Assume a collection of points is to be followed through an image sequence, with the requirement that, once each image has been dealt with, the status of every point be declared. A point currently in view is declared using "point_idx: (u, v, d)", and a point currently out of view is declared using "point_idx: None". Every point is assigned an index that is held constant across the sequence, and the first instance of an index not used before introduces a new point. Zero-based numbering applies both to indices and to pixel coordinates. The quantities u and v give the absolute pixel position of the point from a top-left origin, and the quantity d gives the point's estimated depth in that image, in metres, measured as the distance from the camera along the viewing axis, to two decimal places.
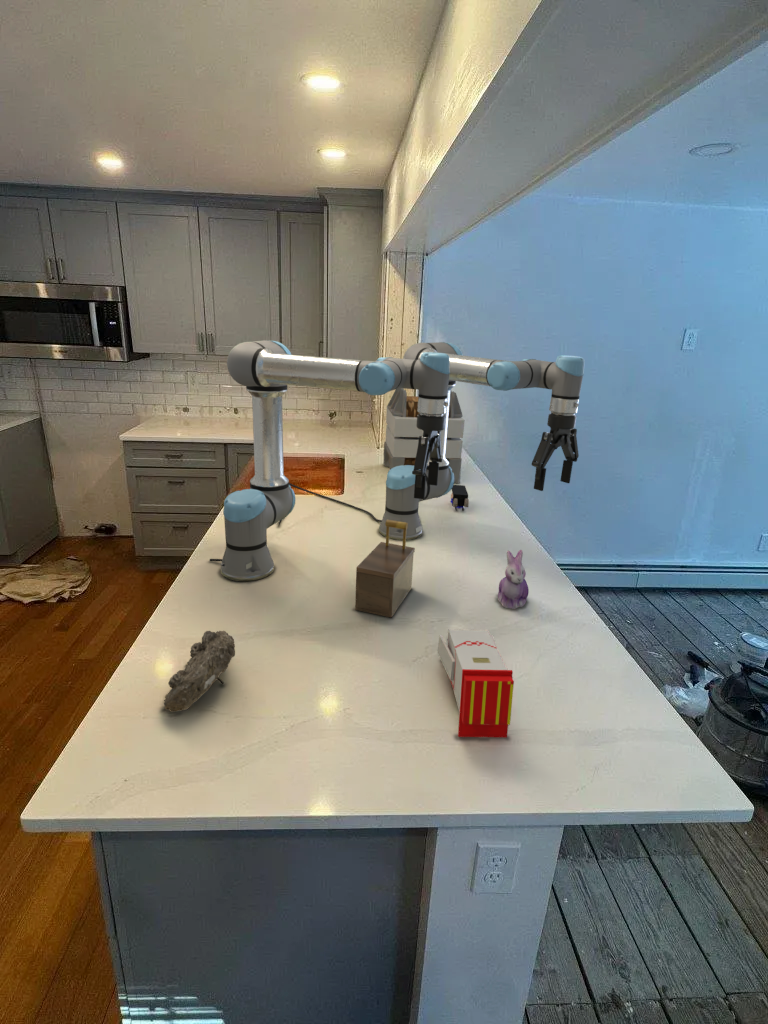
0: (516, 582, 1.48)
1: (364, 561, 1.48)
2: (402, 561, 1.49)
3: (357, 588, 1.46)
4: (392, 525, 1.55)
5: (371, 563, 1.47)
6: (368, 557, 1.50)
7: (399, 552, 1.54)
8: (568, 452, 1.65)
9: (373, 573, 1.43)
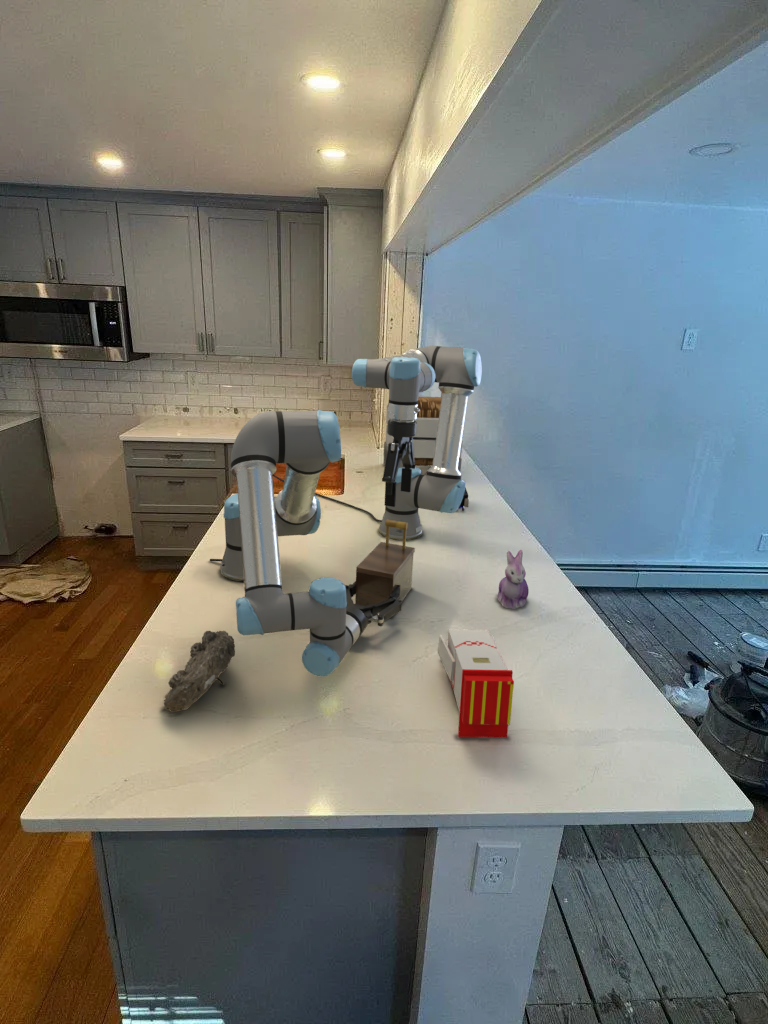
0: (516, 582, 1.48)
1: (364, 561, 1.48)
2: (402, 561, 1.49)
3: (357, 588, 1.46)
4: (392, 525, 1.55)
5: (371, 563, 1.47)
6: (368, 557, 1.50)
7: (398, 552, 1.55)
8: (408, 460, 1.54)
9: (373, 573, 1.43)
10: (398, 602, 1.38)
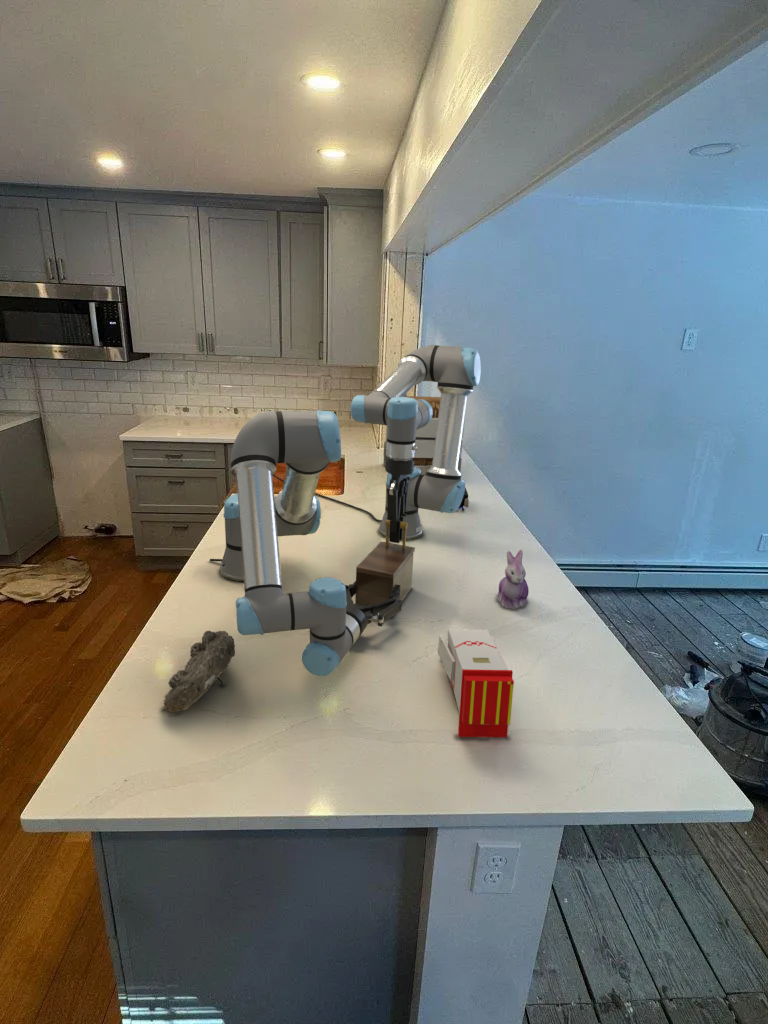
0: (516, 582, 1.48)
1: (364, 561, 1.48)
2: (402, 561, 1.49)
3: (357, 588, 1.46)
4: None
5: (371, 563, 1.47)
6: (368, 557, 1.50)
7: (398, 551, 1.54)
8: (401, 503, 1.54)
9: (373, 573, 1.43)
10: (398, 602, 1.38)
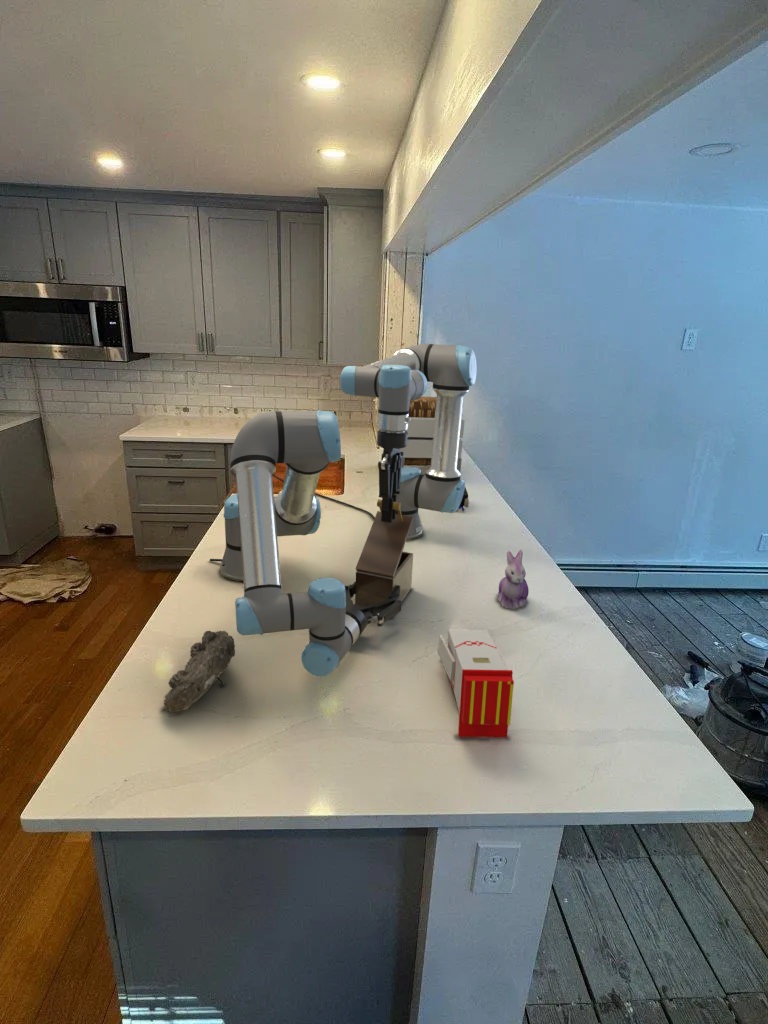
0: (516, 582, 1.48)
1: (362, 555, 1.46)
2: (400, 547, 1.45)
3: (357, 588, 1.46)
4: None
5: (369, 558, 1.45)
6: (366, 546, 1.47)
7: (396, 529, 1.49)
8: (394, 479, 1.44)
9: (373, 573, 1.43)
10: (398, 602, 1.38)
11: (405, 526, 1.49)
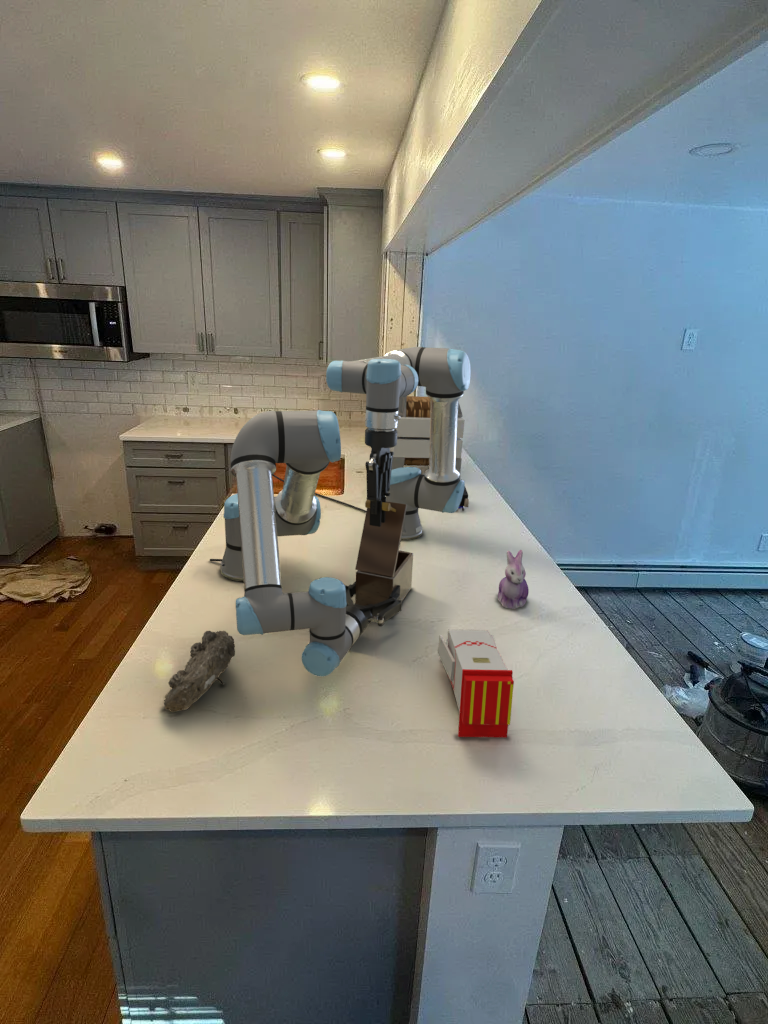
0: (516, 582, 1.48)
1: (360, 554, 1.44)
2: (397, 543, 1.42)
3: (357, 588, 1.46)
4: None
5: (367, 557, 1.43)
6: (362, 543, 1.44)
7: (391, 521, 1.43)
8: (383, 480, 1.36)
9: None
10: (398, 602, 1.38)
11: (399, 517, 1.42)
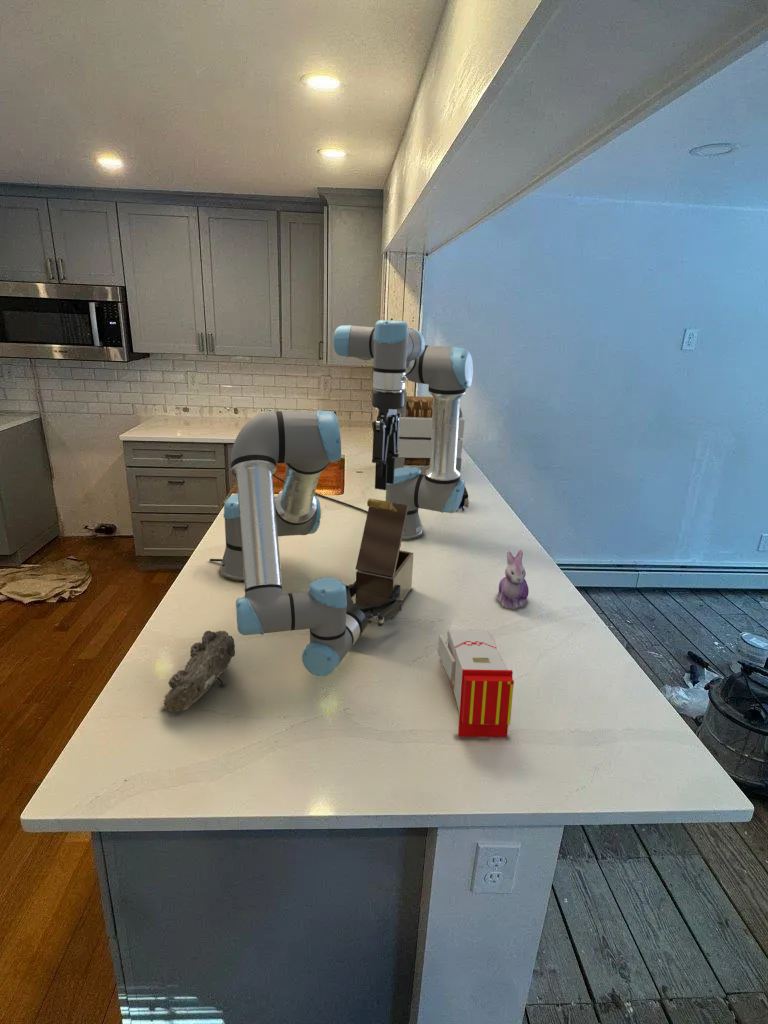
0: (516, 582, 1.48)
1: (361, 553, 1.44)
2: (398, 543, 1.42)
3: (357, 588, 1.46)
4: (375, 507, 1.39)
5: (368, 557, 1.44)
6: (363, 543, 1.45)
7: (392, 521, 1.44)
8: (392, 442, 1.38)
9: None
10: (398, 602, 1.38)
11: (400, 517, 1.43)
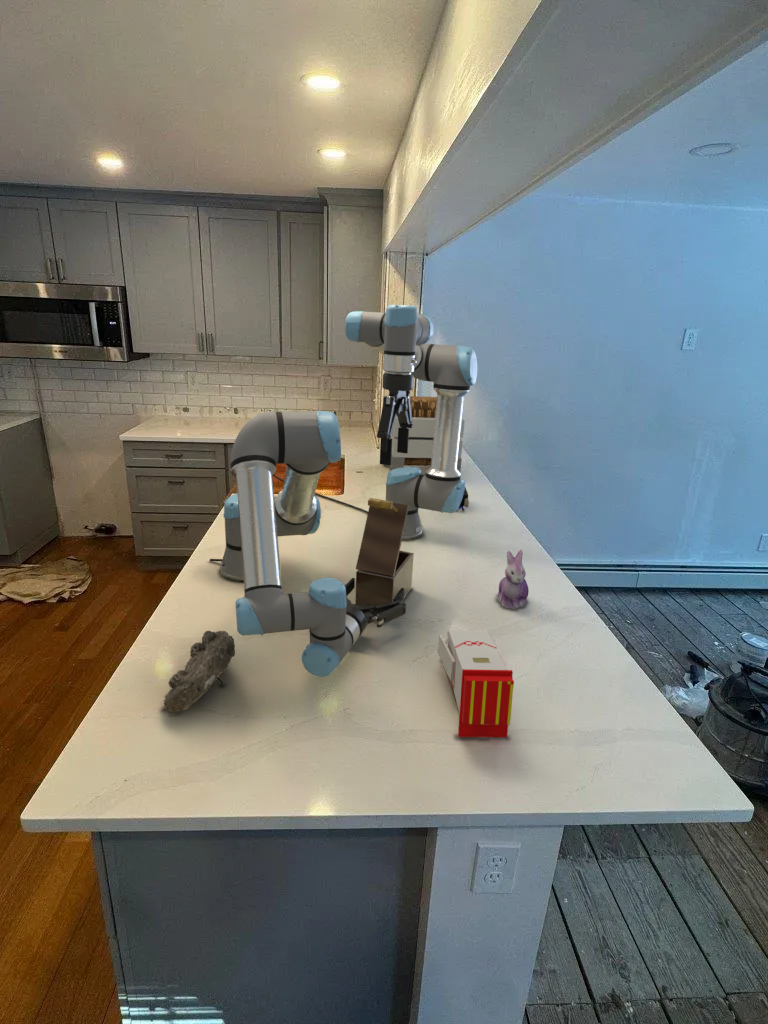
0: (516, 582, 1.48)
1: (361, 553, 1.45)
2: (398, 543, 1.43)
3: (357, 588, 1.46)
4: (376, 506, 1.39)
5: (368, 556, 1.44)
6: (363, 542, 1.45)
7: (392, 521, 1.44)
8: (404, 418, 1.45)
9: (373, 572, 1.43)
10: (402, 605, 1.37)
11: (401, 517, 1.44)
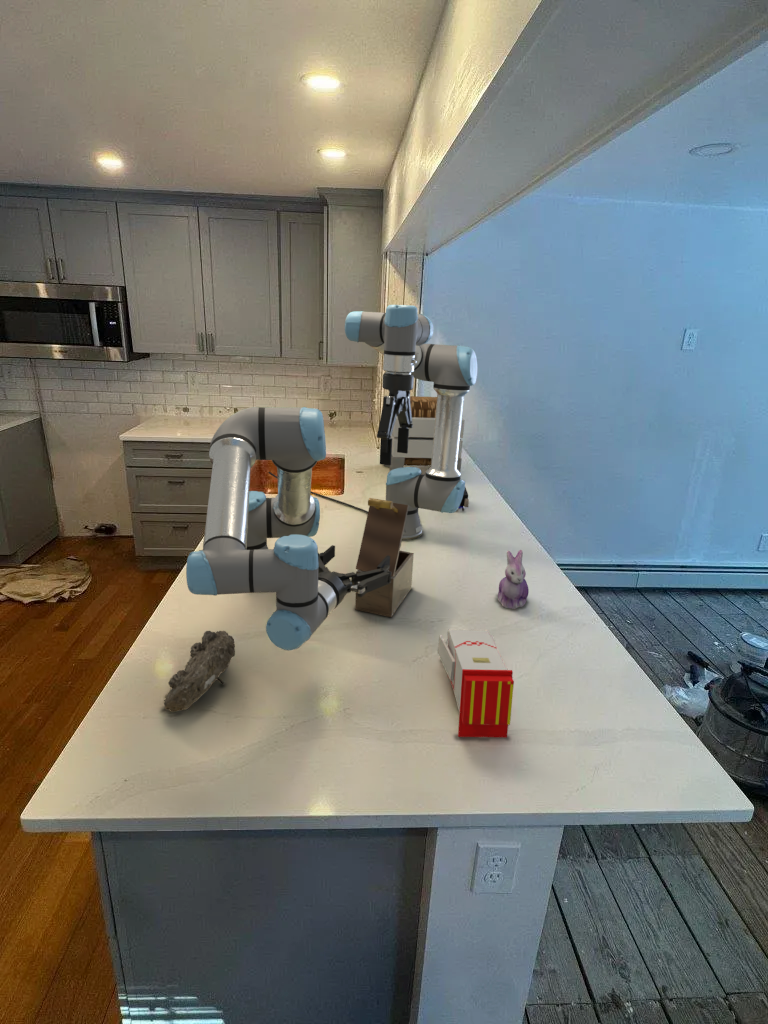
0: (516, 582, 1.48)
1: (361, 553, 1.45)
2: (398, 543, 1.43)
3: None
4: (376, 506, 1.39)
5: (368, 556, 1.44)
6: (363, 542, 1.45)
7: (392, 521, 1.44)
8: (404, 418, 1.45)
9: None
10: (386, 573, 1.20)
11: (401, 517, 1.44)
